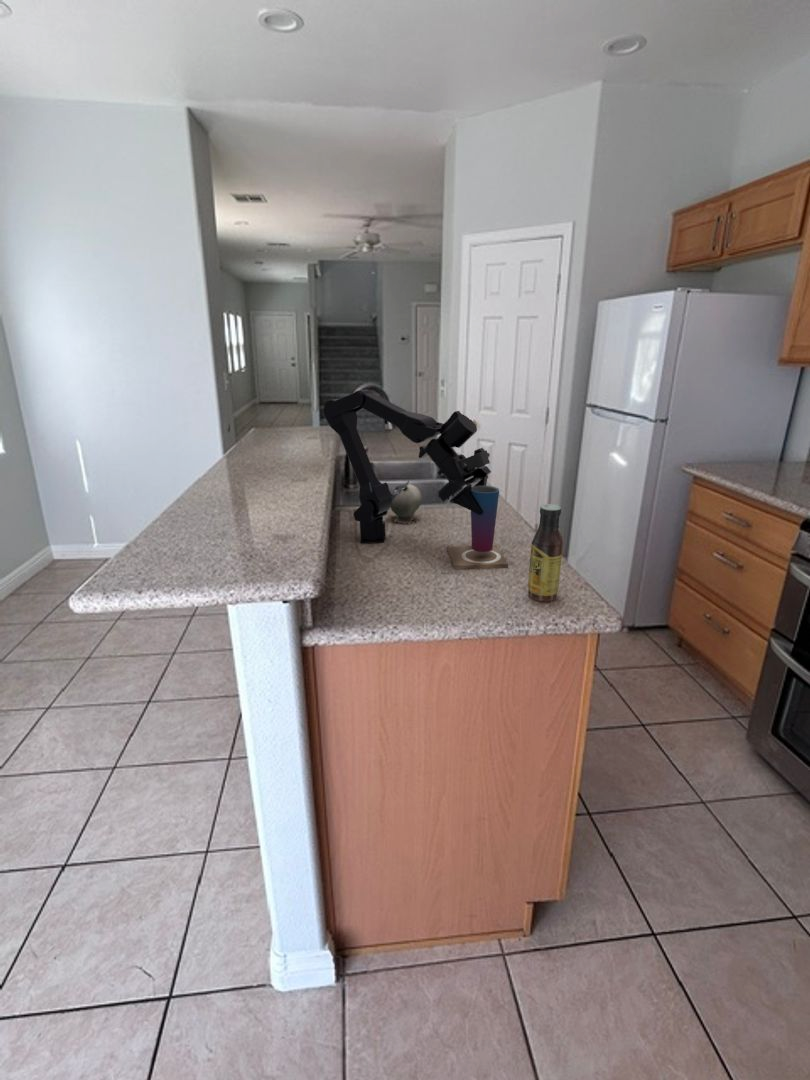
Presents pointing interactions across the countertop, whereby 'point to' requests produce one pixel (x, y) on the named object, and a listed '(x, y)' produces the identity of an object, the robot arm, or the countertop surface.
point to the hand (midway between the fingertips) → (487, 510)
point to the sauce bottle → (546, 556)
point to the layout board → (476, 558)
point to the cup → (484, 518)
